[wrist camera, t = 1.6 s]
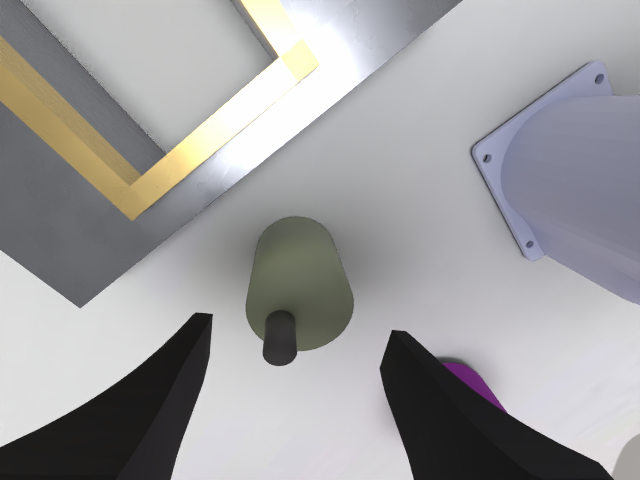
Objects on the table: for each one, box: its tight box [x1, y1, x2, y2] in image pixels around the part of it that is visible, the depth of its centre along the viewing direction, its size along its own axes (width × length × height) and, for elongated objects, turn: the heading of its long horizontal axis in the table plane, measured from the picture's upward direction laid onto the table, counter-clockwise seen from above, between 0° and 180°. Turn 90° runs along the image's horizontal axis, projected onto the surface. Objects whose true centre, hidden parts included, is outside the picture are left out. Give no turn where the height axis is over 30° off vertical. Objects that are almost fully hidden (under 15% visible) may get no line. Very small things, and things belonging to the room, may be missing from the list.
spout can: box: [246, 217, 354, 366], centre depth 17 cm, size 5×5×8 cm
